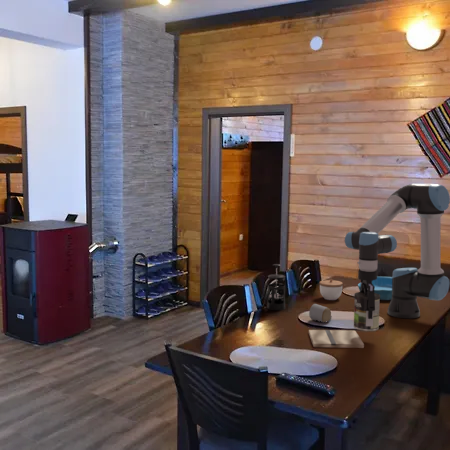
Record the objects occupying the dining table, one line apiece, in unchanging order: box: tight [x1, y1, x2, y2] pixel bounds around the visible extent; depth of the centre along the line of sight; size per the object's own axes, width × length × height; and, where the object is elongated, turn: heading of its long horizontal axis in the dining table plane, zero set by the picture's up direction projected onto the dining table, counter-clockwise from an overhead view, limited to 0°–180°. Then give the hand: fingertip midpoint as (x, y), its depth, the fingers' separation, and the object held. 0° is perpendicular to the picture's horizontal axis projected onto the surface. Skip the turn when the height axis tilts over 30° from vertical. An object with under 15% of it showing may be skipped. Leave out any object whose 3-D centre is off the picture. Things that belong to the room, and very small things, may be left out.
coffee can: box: [353, 291, 380, 332], centre depth 217 cm, size 10×10×14 cm
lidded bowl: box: [319, 278, 343, 301], centre depth 290 cm, size 13×13×11 cm
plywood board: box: [308, 329, 365, 349], centre depth 219 cm, size 20×18×2 cm
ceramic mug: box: [308, 303, 333, 323], centre depth 248 cm, size 11×8×8 cm
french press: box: [266, 263, 286, 311], centre depth 270 cm, size 12×9×23 cm
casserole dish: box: [357, 276, 392, 301], centre depth 300 cm, size 37×22×7 cm, turn 145°
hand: (366, 322), depth 217 cm, fingers closed on coffee can, 10 cm apart
